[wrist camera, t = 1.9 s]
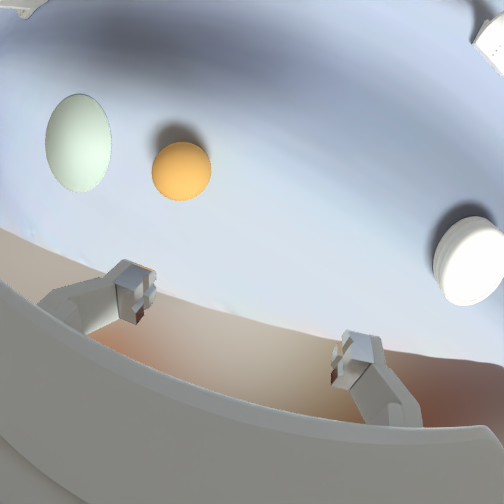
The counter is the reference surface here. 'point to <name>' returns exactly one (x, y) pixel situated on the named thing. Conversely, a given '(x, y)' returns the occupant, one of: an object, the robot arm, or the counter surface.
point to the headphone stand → (492, 42)
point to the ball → (181, 171)
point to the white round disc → (469, 260)
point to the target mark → (78, 143)
